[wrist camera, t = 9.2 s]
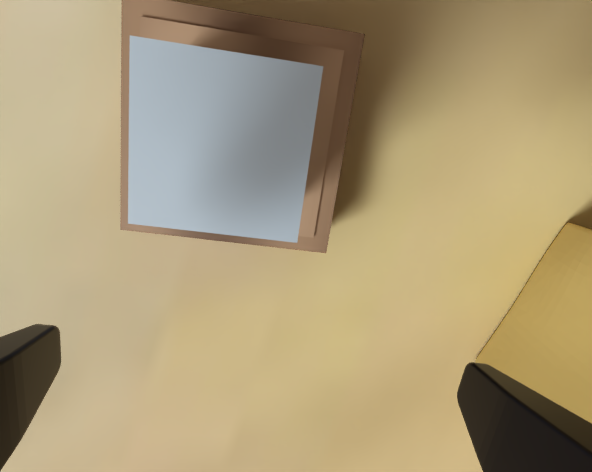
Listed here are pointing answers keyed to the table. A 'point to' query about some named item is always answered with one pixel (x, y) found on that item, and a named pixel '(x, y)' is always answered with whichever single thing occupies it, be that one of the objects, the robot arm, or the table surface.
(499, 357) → the cheese
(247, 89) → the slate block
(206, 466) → the table surface
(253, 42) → the pedestal
